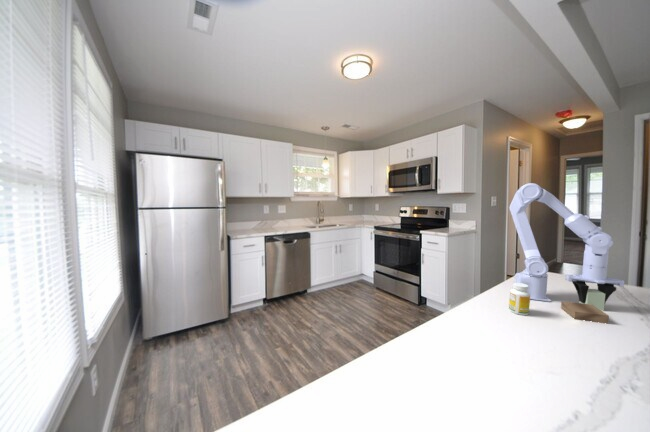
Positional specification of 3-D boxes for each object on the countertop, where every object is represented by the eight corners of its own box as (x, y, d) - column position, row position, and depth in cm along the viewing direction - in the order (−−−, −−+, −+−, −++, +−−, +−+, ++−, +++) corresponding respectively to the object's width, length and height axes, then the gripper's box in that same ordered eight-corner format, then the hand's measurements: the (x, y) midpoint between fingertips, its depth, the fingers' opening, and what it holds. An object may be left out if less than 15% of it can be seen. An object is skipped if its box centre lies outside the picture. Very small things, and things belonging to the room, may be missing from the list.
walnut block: (574, 320, 78) (575, 311, 78) (560, 309, 85) (561, 301, 85) (608, 325, 75) (609, 315, 75) (591, 313, 83) (591, 304, 82)
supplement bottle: (506, 311, 84) (508, 284, 83) (511, 306, 87) (512, 280, 86) (526, 317, 79) (528, 288, 78) (530, 312, 83) (532, 284, 82)
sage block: (586, 308, 85) (588, 292, 84) (579, 303, 89) (580, 287, 88) (603, 310, 83) (605, 294, 83) (595, 305, 87) (596, 289, 87)
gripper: (574, 266, 84) (571, 304, 85) (633, 270, 78) (628, 311, 80) (563, 261, 90) (560, 296, 91) (616, 265, 85) (612, 302, 86)
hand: (591, 303), depth 86 cm, fingers closed on sage block, 4 cm apart
